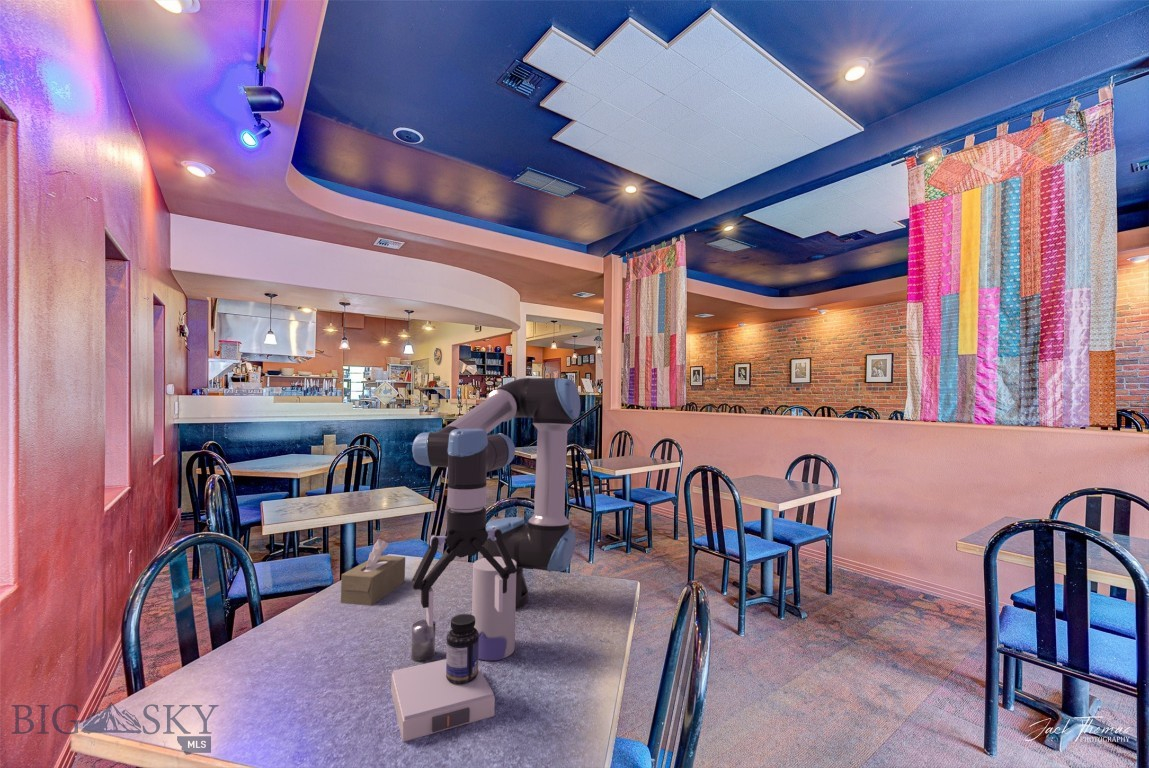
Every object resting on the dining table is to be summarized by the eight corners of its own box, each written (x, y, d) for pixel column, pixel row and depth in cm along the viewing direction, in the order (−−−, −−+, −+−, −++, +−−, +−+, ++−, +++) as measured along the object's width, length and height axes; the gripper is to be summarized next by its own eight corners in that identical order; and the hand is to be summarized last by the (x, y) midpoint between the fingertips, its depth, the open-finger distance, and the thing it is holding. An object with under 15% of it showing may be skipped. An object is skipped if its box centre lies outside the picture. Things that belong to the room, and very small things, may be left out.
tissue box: (371, 606, 136) (373, 549, 136) (339, 603, 137) (341, 546, 138) (405, 582, 154) (406, 531, 155) (377, 579, 156) (378, 529, 156)
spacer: (432, 648, 113) (433, 618, 113) (436, 659, 109) (437, 627, 109) (409, 653, 111) (410, 622, 111) (413, 664, 106) (414, 631, 107)
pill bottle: (467, 664, 99) (468, 609, 100) (484, 676, 95) (485, 619, 95) (439, 676, 95) (441, 618, 95) (456, 689, 90) (457, 629, 91)
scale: (471, 672, 104) (471, 652, 104) (495, 718, 89) (496, 695, 89) (391, 691, 96) (391, 670, 96) (403, 744, 81) (404, 720, 81)
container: (521, 644, 116) (523, 558, 117) (502, 665, 107) (504, 572, 107) (484, 636, 119) (486, 553, 120) (462, 656, 110) (464, 566, 111)
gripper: (519, 498, 105) (518, 597, 105) (397, 509, 94) (395, 620, 93) (532, 505, 98) (531, 611, 98) (403, 518, 87) (400, 638, 87)
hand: (465, 616), depth 96 cm, fingers open, 13 cm apart
